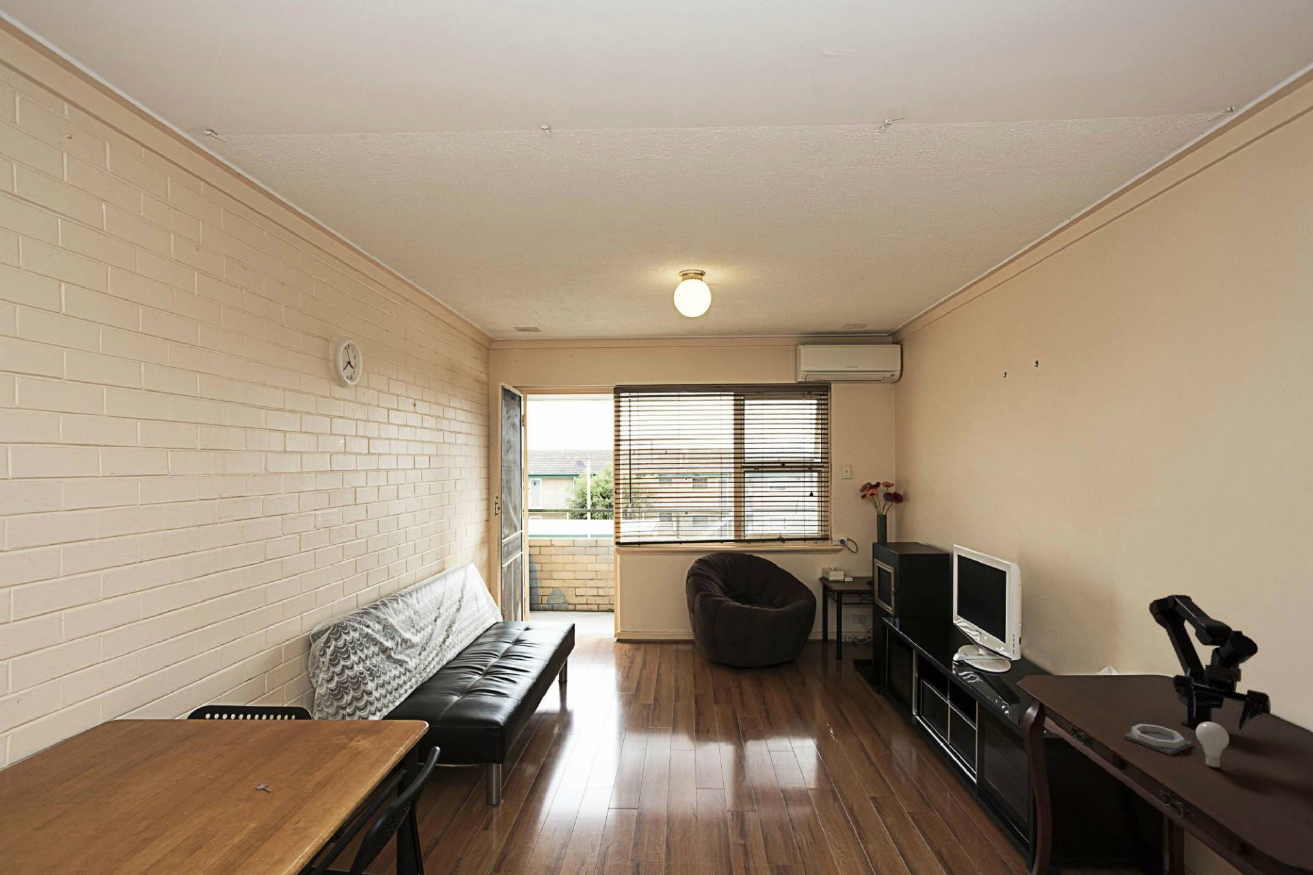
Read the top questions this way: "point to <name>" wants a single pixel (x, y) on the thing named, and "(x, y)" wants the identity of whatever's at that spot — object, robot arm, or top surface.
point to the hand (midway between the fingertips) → (1215, 723)
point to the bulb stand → (1158, 738)
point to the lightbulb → (1212, 741)
